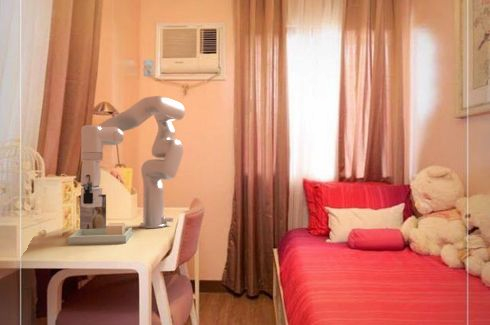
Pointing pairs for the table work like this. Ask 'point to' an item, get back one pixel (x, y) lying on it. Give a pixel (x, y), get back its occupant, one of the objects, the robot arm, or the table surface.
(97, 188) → the skincare box
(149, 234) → the table surface
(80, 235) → the grey-green tray
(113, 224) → the parcel
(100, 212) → the coffee box
